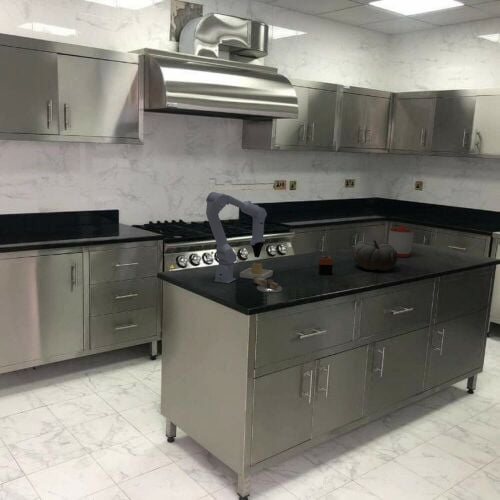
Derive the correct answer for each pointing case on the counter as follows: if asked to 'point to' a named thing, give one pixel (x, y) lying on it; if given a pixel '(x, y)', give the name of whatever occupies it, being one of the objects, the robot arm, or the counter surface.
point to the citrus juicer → (401, 240)
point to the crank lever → (266, 282)
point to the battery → (325, 265)
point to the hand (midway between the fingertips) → (256, 257)
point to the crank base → (268, 289)
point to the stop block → (257, 268)
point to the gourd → (375, 256)
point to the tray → (249, 275)
